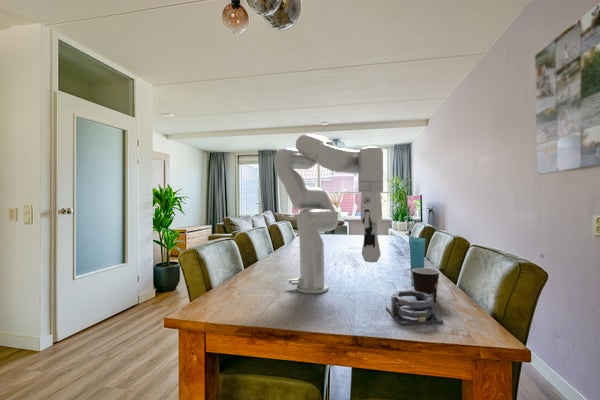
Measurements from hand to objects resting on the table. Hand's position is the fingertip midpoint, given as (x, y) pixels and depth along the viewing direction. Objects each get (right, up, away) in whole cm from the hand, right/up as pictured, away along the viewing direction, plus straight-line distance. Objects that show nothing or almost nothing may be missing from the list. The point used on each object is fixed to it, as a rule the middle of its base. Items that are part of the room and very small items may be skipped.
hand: (370, 245), depth 90 cm
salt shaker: (0, -5, 0) cm, 5 cm away
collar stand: (+12, -21, -3) cm, 24 cm away
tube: (+26, -20, +27) cm, 42 cm away
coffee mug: (+23, -20, +11) cm, 32 cm away
